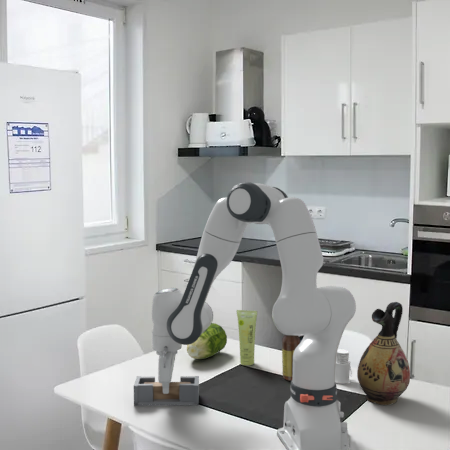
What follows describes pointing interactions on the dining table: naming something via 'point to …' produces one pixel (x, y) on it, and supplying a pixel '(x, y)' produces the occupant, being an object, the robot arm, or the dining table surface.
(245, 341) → the tube
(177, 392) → the slat
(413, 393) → the dining table surface
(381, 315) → the ceramic jug
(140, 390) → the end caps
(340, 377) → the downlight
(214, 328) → the lettuce
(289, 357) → the sauce bottle
